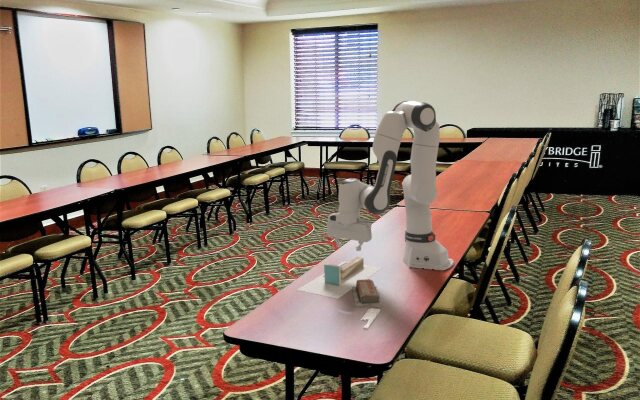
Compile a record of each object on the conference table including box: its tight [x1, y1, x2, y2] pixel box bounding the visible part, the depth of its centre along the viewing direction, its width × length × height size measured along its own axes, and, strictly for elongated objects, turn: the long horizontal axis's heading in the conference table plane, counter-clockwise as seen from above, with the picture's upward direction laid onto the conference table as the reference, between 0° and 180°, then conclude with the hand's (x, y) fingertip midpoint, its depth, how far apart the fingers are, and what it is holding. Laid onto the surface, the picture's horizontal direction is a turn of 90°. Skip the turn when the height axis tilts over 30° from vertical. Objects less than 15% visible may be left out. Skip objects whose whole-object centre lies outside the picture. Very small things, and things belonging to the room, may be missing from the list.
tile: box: [323, 262, 341, 286], centre depth 211 cm, size 7×1×8 cm, turn 58°
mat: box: [296, 261, 382, 300], centre depth 218 cm, size 19×38×1 cm, turn 148°
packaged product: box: [351, 278, 384, 309], centre depth 198 cm, size 18×5×10 cm
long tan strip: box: [340, 256, 365, 279], centre depth 224 cm, size 3×18×4 cm, turn 148°
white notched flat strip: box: [360, 307, 381, 330], centre depth 181 cm, size 5×15×1 cm, turn 157°
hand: (348, 248), depth 222 cm, fingers open, 8 cm apart
